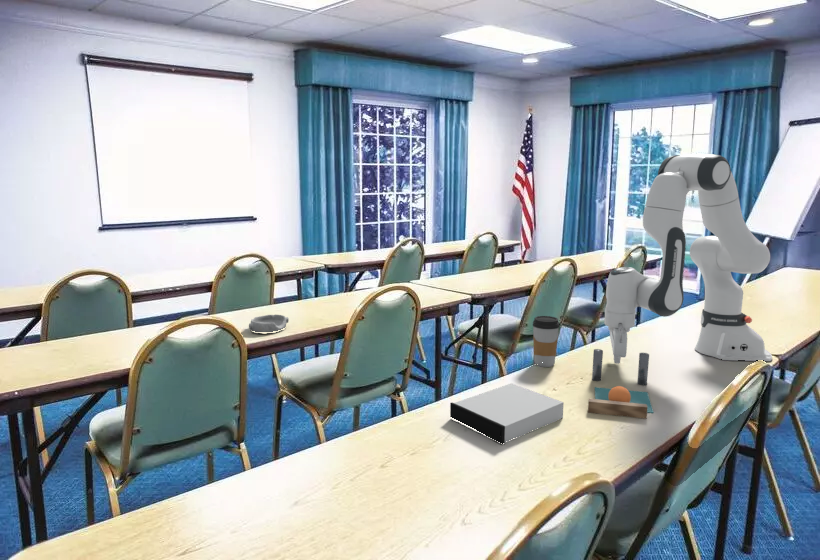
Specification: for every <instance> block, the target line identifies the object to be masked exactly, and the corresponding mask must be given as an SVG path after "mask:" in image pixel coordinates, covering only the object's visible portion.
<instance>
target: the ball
mask: <svg viewBox="0 0 820 560" xmlns="http://www.w3.org/2000/svg"><path fill="white" fill-rule="evenodd" d="M610 389H611V390H610V392H609V395H608V398H609V401H619V402H630V400H631V395H630V393H629V391H628V389H627V388H626V387H624V386H623V385H622V386H621V385H617V386H614V387H612V388H610Z"/></svg>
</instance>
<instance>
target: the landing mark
mask: <svg viewBox="0 0 820 560" xmlns="http://www.w3.org/2000/svg"><path fill="white" fill-rule="evenodd" d="M611 389H612V388H608V387H607V388H606V387H597V386H595V387H594V396H595V397H594V399H599V400H609V398H608V395H609V392H610V390H611ZM627 390H628V389H627ZM628 391H629V393H630V395H631V400H630V402H629V403H639V404H647V407H648V408H647V414H648V413H649V414H654V409H653V406H652V402H651V400H650V396H649V393H648V391H640V390H639V391H638V390H628Z"/></svg>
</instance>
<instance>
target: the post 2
mask: <svg viewBox="0 0 820 560" xmlns="http://www.w3.org/2000/svg"><path fill="white" fill-rule="evenodd" d="M649 361H650V353H647V352H639V355H638V368H637V385H639V386H647V385H648V378H649V377H648V376H649V375H648V373H649V365H650V364H649Z"/></svg>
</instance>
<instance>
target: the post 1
mask: <svg viewBox="0 0 820 560" xmlns="http://www.w3.org/2000/svg"><path fill="white" fill-rule="evenodd" d="M592 356H593V357H592V375H591V380H592V381H595V382H600V381H602V373H603V372H602V371H603V357H604V350H602V349H601V348H600V349H599V348H595V349H593V355H592Z"/></svg>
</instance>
